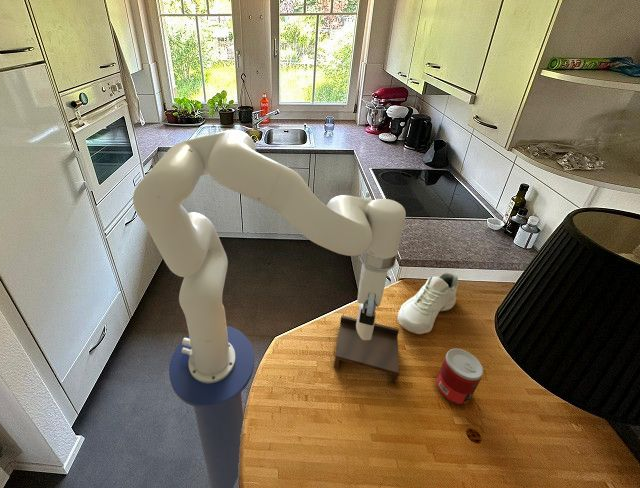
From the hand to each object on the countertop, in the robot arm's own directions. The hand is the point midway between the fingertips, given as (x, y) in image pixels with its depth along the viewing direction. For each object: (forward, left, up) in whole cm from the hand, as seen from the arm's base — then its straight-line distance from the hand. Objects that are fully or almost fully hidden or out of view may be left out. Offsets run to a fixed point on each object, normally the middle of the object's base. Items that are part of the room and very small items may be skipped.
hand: (367, 312), depth 78 cm
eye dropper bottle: (0, 0, -7) cm, 7 cm away
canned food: (+24, +1, -22) cm, 33 cm away
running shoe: (+19, +25, -22) cm, 39 cm away
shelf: (+2, +4, -22) cm, 22 cm away
